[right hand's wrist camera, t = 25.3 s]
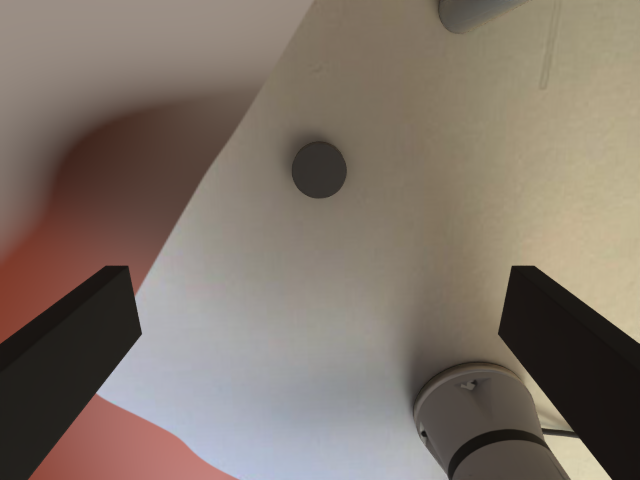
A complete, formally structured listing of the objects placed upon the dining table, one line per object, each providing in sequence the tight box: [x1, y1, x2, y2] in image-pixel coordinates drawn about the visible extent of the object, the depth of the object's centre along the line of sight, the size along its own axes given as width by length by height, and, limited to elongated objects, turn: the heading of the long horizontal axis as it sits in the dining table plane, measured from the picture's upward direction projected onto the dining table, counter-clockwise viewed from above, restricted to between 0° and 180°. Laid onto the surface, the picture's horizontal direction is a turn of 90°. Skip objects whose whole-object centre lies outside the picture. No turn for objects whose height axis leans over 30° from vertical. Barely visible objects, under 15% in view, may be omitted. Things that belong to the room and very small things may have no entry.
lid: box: [292, 142, 346, 198], centre depth 37 cm, size 5×5×2 cm
